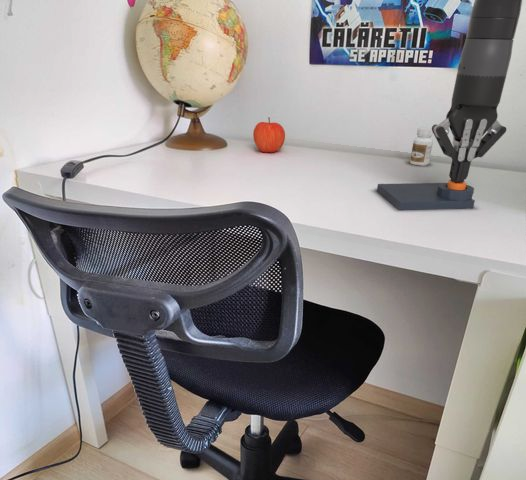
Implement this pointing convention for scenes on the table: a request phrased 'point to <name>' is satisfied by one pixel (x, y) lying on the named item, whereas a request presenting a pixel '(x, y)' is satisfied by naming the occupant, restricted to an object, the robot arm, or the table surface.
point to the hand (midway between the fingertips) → (457, 181)
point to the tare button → (456, 185)
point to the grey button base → (426, 196)
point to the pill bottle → (422, 147)
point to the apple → (269, 136)
